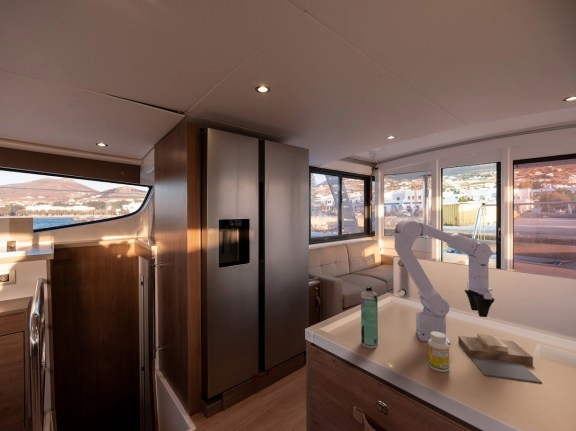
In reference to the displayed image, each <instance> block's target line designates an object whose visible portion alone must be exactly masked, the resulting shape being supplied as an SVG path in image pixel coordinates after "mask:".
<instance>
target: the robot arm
mask: <svg viewBox="0 0 576 431" xmlns="http://www.w3.org/2000/svg"><path fill="white" fill-rule="evenodd" d="M393 233H394V250H395V252H396V254H397V255H398V257H399V259H400V261H401V263H402V264H403V267H404V268H405V269H406V271H407V273H408V275H409V276H410V278H411V280H412V281H413V283H414V285H415V287H416V288H417V291H418V292H417V293H418V295H419V300H420V303H421V305H422V306H423V309H422V311H416V314H415V333H416V334H417V336H418V338H419V341H424V342H428V341H429V339H431V337H430V335H431V332H440V333H443V334H445V335H446V342H447V343H448V345H449V344H451V341H450V340H449V338H448V337H447V318H446V317H447V315H448V313H449V311H450V304H449V303H448V301H447V300H446V299H444V298H443V297H442V295H441V294H440V293H439V292H438V291H437V289H435V287H434V286H433V285H432V283H431V280H430V278H429V277H428V276H427V274H426V273H425V271H424V269H423V267H422V265H421V264H420V262H419V260H418V259H417V257H416V255H415V254H414V252H413V249H412V247H413V245H414V243H415V242H416V241H417V239H418V238H419V237H424V236H426V237H427V236H428V237H430V238H433V239H436V240H439V241H441V242H444V243H446V245H447V246H448V248H451V249H452V250H455V251H458V252H459V253H462V254H465V255H467V256H468V282H467V283H466V286H467V287H466V288H467V289H464V292H465V294H466V297H467V298H468V302H469V307H470V310H471V311H477V313H478V317H479V318H488V315H489V311H490V309H491V306H492V304H493V303H494V302H495V298H494V297H493V294H492V293H491V292H493V288H491V287H489V285H490V284H489V280H490V279H489V263H490V258H491V257H492V255H493V253H494V252H493V250H492V249H491V246H489V244H487V243H486V242H482V241H481V242H479V241H478V240H477V239H476V238H470V237H468V236H466V235H464V233H462V232H458V233H457V232H453V233H450V234H449V233H447V232H445V231H443V230H440V229H438V228H436V227H433V226H432V225H429V224H426V223H422V222H418V221H416V220H401V221H398V223H397V224H396V226H395V228H394V230H393Z"/></svg>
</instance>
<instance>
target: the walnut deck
mask: <svg viewBox="0 0 576 431" xmlns="http://www.w3.org/2000/svg"><path fill="white" fill-rule="evenodd" d="M457 338H458V340H457V342H458V344H459V345H460V347H461V348H462V349H463V351H464V352H465V353H466V354H467V356H468V357H469V358H470V359H471V357H475V358H483V359H491V360H499V361H508V362H516V363H521V364H523V365H524V366H525V365H526V366H534V356H532V355H531V354H530V353H529V352H527V351H526V350H525V349H523V348H522V347H521V346H520V345H518V344H517V343H516V342H515V341H513V340H505V339H504V340H503V339H499V340H500V341H501V342H502V343H504V344H505V345H506V346H507V347H508V352H503V351H494V350H488V349H487V348H486V347H485V346H484V345H483V344H482V343H481V342H480V340H479V339H478V338H477V336H475V337H474V336H465V335H458V336H457Z"/></svg>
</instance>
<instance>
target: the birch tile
mask: <svg viewBox="0 0 576 431" xmlns="http://www.w3.org/2000/svg"><path fill="white" fill-rule="evenodd" d="M476 338H478V339H479V340H480V342H481V343H482V344H483V345H484V346H485V347H486V348H487V349H488V350H494V351H503V352H508V347H507V346H506V345H505V344H504V343H502V342H501V341H500V340H501V339H499V338H498V337H497V336H495V335H492V334H482V333H477V334H476Z"/></svg>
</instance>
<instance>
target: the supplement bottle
mask: <svg viewBox="0 0 576 431" xmlns="http://www.w3.org/2000/svg"><path fill="white" fill-rule="evenodd" d="M430 337H431V339H429V341H427V357H428V358H427V361H428V362H427V364H428V366H429V367H430V369H432V370H434V371H436V372H440V373H447V372H449V370H450V345H449V344H448V343H447V342H446V337H447V334H446V335H445V334H443V333H440V332H431V335H430Z"/></svg>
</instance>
